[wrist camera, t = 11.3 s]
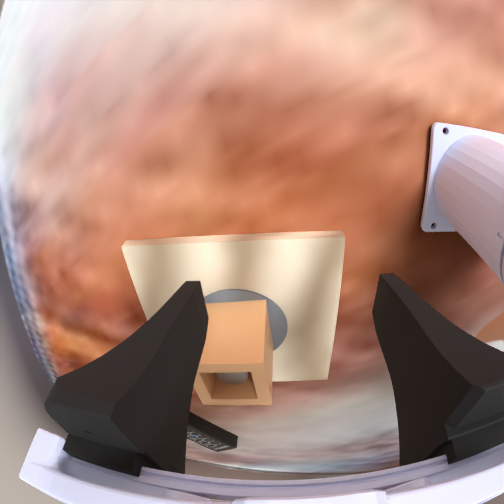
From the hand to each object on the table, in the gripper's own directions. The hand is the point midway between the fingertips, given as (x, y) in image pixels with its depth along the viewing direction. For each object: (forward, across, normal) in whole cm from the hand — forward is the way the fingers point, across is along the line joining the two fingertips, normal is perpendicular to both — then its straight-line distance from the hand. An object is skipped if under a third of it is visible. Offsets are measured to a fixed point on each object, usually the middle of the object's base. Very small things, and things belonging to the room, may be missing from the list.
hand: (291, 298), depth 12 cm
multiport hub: (+10, +13, +30) cm, 35 cm away
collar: (+8, +4, +10) cm, 13 cm away
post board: (+9, +4, +10) cm, 14 cm away
